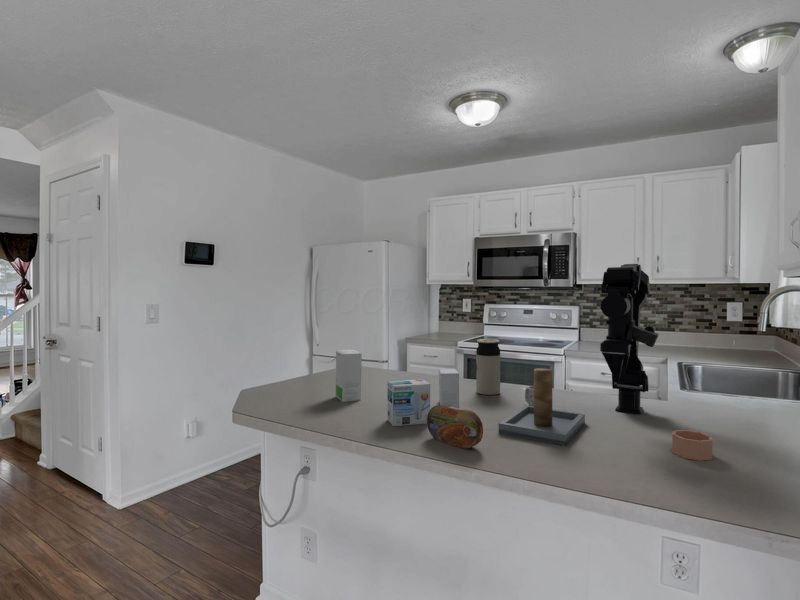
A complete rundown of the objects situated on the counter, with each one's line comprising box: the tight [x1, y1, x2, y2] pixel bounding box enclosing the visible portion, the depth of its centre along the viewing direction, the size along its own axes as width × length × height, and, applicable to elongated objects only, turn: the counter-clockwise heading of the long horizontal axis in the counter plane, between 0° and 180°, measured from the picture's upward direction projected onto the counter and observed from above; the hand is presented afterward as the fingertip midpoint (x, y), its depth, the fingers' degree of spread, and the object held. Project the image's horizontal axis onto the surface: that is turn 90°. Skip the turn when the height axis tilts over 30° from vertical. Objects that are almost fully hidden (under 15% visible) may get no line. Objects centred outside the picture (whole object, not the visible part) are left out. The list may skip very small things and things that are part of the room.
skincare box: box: [334, 348, 363, 403], centre depth 146 cm, size 8×7×16 cm
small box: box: [438, 368, 460, 408], centre depth 138 cm, size 8×6×10 cm
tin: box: [426, 404, 484, 449], centre depth 105 cm, size 15×3×8 cm, turn 45°
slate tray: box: [498, 404, 586, 447], centre depth 115 cm, size 20×16×2 cm
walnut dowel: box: [533, 367, 553, 427], centre depth 115 cm, size 4×4×14 cm
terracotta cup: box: [671, 429, 714, 462], centre depth 97 cm, size 7×7×4 cm
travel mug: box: [475, 338, 501, 396], centre depth 153 cm, size 8×8×18 cm
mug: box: [524, 385, 534, 406], centre depth 133 cm, size 10×7×7 cm, turn 22°
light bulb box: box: [387, 378, 431, 427], centre depth 121 cm, size 11×7×11 cm, turn 105°
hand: (619, 376), depth 115 cm, fingers open, 9 cm apart
